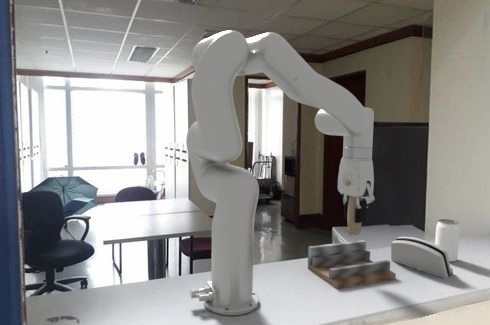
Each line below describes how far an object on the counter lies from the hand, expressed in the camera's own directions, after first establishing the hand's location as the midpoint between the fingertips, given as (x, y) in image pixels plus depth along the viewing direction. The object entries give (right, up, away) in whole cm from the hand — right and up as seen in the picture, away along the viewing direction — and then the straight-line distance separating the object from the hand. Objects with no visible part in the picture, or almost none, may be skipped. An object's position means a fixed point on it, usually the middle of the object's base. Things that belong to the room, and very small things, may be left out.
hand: (354, 219), depth 106 cm
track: (-1, -15, +2) cm, 15 cm away
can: (+33, -15, +15) cm, 39 cm away
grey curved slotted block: (+21, -16, +7) cm, 27 cm away
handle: (0, -4, +1) cm, 4 cm away
